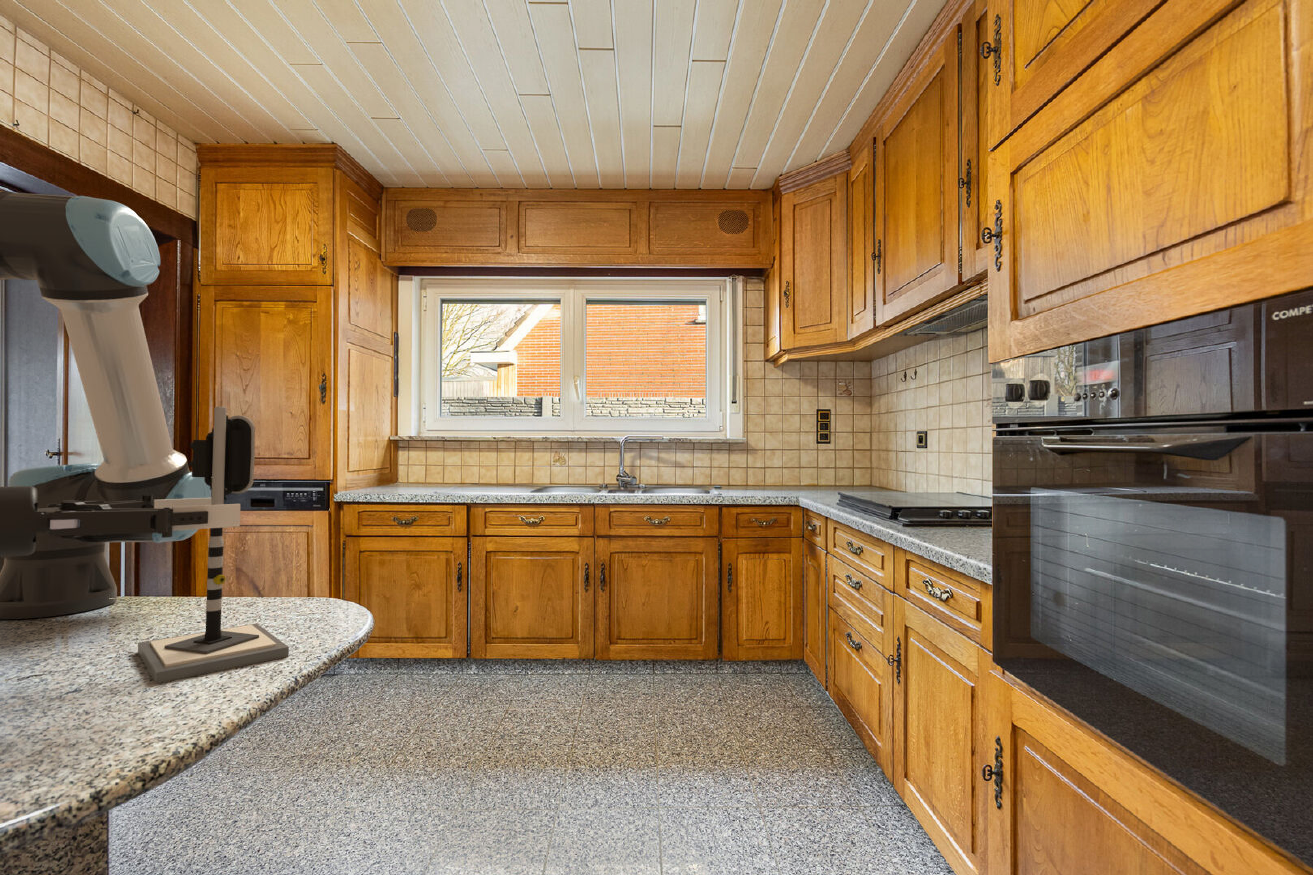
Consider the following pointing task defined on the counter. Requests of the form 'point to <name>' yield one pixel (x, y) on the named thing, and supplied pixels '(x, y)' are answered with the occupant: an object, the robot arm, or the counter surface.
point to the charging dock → (188, 664)
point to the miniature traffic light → (231, 472)
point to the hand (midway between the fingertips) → (226, 511)
